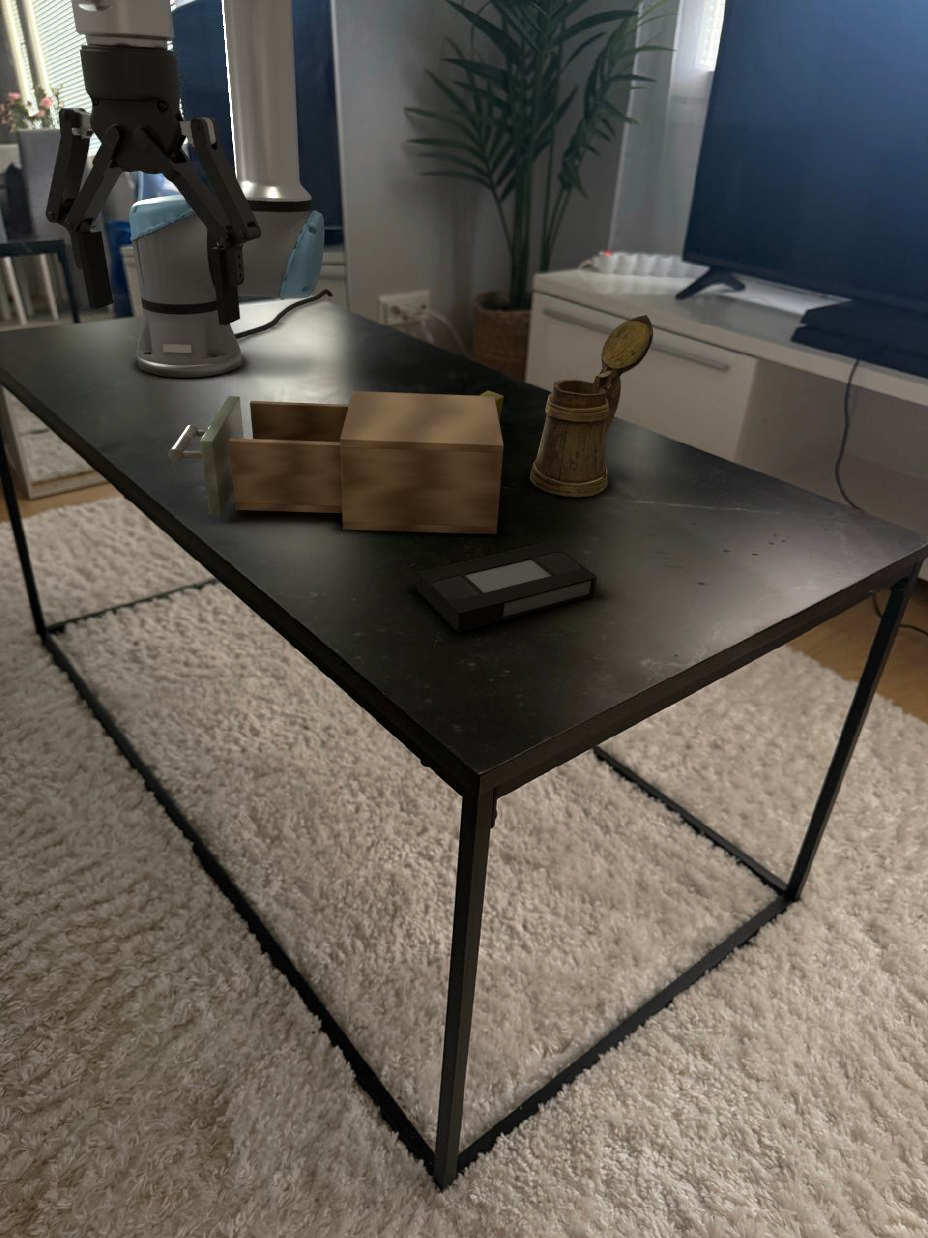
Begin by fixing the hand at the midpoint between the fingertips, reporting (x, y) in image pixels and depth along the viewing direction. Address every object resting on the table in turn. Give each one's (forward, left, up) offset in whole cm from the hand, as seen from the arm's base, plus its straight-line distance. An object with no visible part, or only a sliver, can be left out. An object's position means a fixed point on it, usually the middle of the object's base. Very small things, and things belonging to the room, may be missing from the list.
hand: (164, 313), depth 80 cm
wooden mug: (-8, +44, -19) cm, 48 cm away
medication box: (-21, +31, -19) cm, 42 cm away
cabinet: (0, +25, -19) cm, 31 cm away
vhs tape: (+19, +33, -19) cm, 42 cm away
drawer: (0, +9, -18) cm, 20 cm away
